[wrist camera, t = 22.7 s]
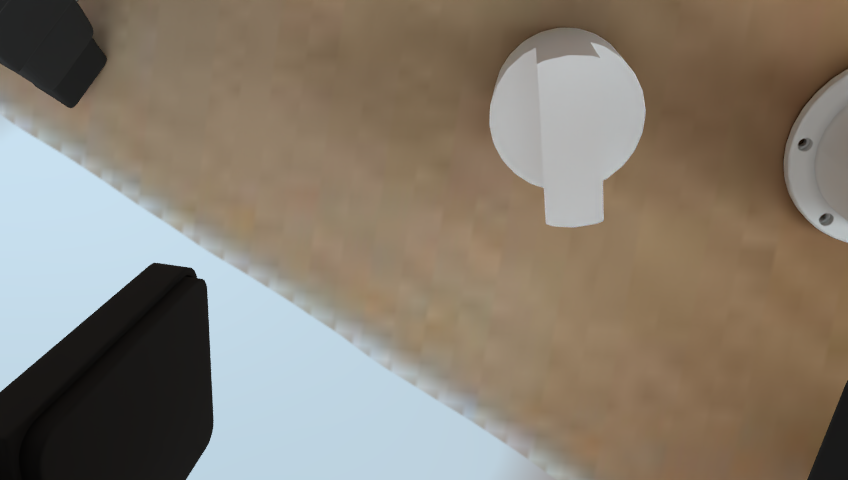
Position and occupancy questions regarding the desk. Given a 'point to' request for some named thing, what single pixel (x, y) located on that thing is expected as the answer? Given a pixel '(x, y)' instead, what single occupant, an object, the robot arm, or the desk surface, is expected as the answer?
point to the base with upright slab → (567, 119)
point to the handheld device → (50, 46)
